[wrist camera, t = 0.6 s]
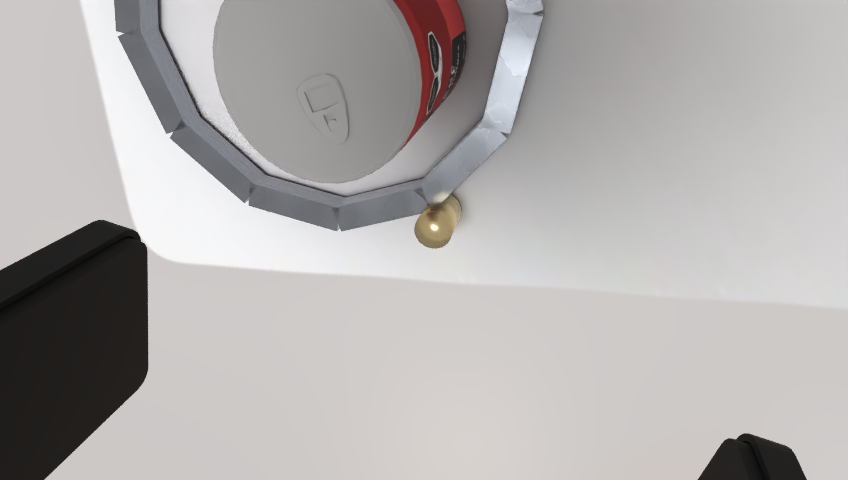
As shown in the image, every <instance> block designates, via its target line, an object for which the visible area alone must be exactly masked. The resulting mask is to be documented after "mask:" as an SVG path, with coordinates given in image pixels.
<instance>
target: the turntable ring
mask: <svg viewBox="0 0 848 480" xmlns="http://www.w3.org/2000/svg"><path fill="white" fill-rule="evenodd" d="M505 1H506V5H507V9H508V13H509V17H508V21H507V25H506V29H505V33H504V37H503V41H502V45H501V49H500V53H499V57H498V61H497V65H496V69H495V73H494V77H493V81H492V85H491V89H490V93H489V97H488V101H487V105H486V109H485V113H484V117H483V118H482V119H481V120H480V121H479V122H478V123H477V124H476V125H475V126H474V127H473V128H472V129H471V130H470V131H469V133H468V134H467V135H466V136H465V137H464V138H463V139H462V140H461V141H460V142H459V143H458V144H457V145H456V146H455V147H454V148H453V149H452V150H451V151H450V152H449V153H448V154H447V155H446V156H445V157H444V158H443V159H442V160H441V161H440V162H439V163H438V164H437V165H436V166H435V167H434V168H433V169H432V170H431V171H430V172H429V173H428V174H427V175H426V176H425V177H424V178H423V179H419V180H414V181H410V182H406V183H402V184H398V185H394V186H390V187H386V188H382V189H378V190H374V191H370V192H366V193H362V194H358V195H353V196H349V197H345V198H344V197H341V196H337V195H334V194H330V193H327V192H323V191H320V190H316V189H313V188H309V187H306V186H302V185H299V184H295V183H292V182H288V181H285V180H281V179H278V178H274V177H271V176H267V175H265V174H264V173H263V172H262V171H261V170H260V169H258V168H257V167H256V166H255V165H254V164H253V163H252V162H251V161H249V160H248V159H247V158H246V157H245V156H244V155H243V154H242V153H240V152H239V151H238V150H237V149H236V148H235V147H234V146H233V145H231V144H230V143H229V142H228V141H227V140H226V139H225V138H223V137H222V136H221V135H220V134H219V133H218V132H217V131H216V130H214V129H213V128H212V127H211V126H210V125H209V124H208V123H207V122H205V121H204V120H203V119H202V118H201V117H200V116H199V114H198V112H197V110H196V107H195V105H194V103H193V101H192V99H191V97H190V95H189V93H188V91H187V88H186V86H185V84H184V82H183V80H182V78H181V76H180V74H179V72H178V69H177V67H176V65H175V63H174V61H173V59H172V57H171V55H170V53H169V50H168V48H167V46H166V44H165V42H164V40H163V38H162V36H161V34H160V31H159V27H158V0H114V5H115V20H116V31H118V32H122V33H125V34H122V35H120V36H118V38H119V40H120V42H121V44H122V46H123V48H124V50H125V52H126V54H127V56H128V58H129V60H130V62H131V64H132V66H133V68H134V70H135V72H136V74H137V76H138V78H139V80H140V82H141V84H142V86H143V88H144V90H145V92H146V94H147V96H148V98H149V100H150V102H151V104H152V106H153V108H154V110H155V112H156V114H157V116H158V118H159V120H160V122H161V124H162V126H163V128H164V130H165V132H166V134H167V133H170V132H173V131H174V132H173V134H172V135H171V137H170V139H172V140H173V141H174V142H175V143H176V144H177V145H178V146H180V147H181V148H182V149H183V150H184V151H185V152H186V153H188V154H189V155H190V156H191V157H192V158H193V159H194V160H196V161H197V162H198V163H199V164H200V165H201V166H202V167H204V168H205V169H206V170H207V171H208V172H209V173H211V174H212V175H213V176H214V177H215V178H216V179H217V180H219V181H220V182H221V183H222V184H223V185H224V186H225V187H227V188H228V189H229V190H230V191H231V192H232V193H233V194H235V195H236V196H237V197H238V198H239V199H240V200H241V201H243V202H244V203H245V202H247V201H248V200H249V206H252V207H256V208H259V209H263V210H266V211H269V212H273V213H276V214H280V215H283V216H287V217H290V218H293V219H297V220H300V221H304V222H307V223H310V224H314V225H317V226H321V227H324V228H328V229H331V230H334V231H337V230H338V229H339V228H340V229H341V231H345V230H350V229H354V228H359V227H363V226H368V225H372V224H377V223H381V222H386V221H390V220H395V219H399V218H404V217H408V216H412V215H417V214H421V215H420V217H419V218H418V220H417V222H416V224H415V228H414V230H415V235H416V237H417V239H418V240H419V242H420V243H421V244H423V245H424V246H426V247H429V248H440V247H443V246H445V245H446V244H447V243H448V242H449V240H450V238H451V236H452V234H453V231H454V229H455V227H456V224H457V222H458V220H459V218H460V215H461V206H460V204H459V202H458V200H457V199H456V198H455V197H453V196H452V195H450V194H451V193H452V192H453V191H454V190H455V189H456V188H457V187H458V186H459V185H460V184H461V183H462V182H463V181H464V180H465V179H466V178H467V177H468V176H469V175H470V174H471V173H472V172H474V171H475V170H476V169H477V168H478V167H479V166H480V165H481V164H482V163H483V162H484V161H485V160H486V159H487V158H488V157H489V156H490V155H491V154H492V153H493V152H494V151H495V150H496V149H497V148H498V147H499V146H500V145H501V144H502V143H504V142H505V141H506V140H507V138H508V135H509V134H510V133H511V130H512V127H513V124H514V120H515V117H516V113H517V110H518V106H519V102H520V99H521V95H522V92H523V88H524V84H525V81H526V77H527V74H528V70H529V67H530V63H531V59H532V56H533V52H534V49H535V45H536V41H537V38H538V34H539V31H540V27H541V24H542V20H543V16H544V14H543V13H538V11H541V10H543V9H544V4H543V0H505Z"/></svg>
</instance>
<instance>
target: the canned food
mask: <svg viewBox="0 0 848 480" xmlns="http://www.w3.org/2000/svg"><path fill="white" fill-rule="evenodd" d="M465 53H466V31H465V26H464V21H463V17H462V13H461V11H460V8H459V6H458V4H457V1H456V0H224V2H223V3H222V5H221V7H220V11H219V14H218V18H217V21H216V25H215V30H214V41H213V58H214V70H215V75H216V79H217V83H218V87H219V91H220V94H221V96H222V99H223V101H224V103H225V106H226V108H227V111H228V113H229V114H230V116H231V118H232V119H233V121H234V123H235V124H236V126H237V128H238V129H239V131H240V132H241V133H242V135H243V136H244V137H245V138H246V139H247V141H248V142H249V143H250V144H251V145H252V147H253V148H254V149H256V150H257V151H258V152H259V153H260V154H261V155H262V156H263V157H265V158H266V159H267V160H268V161H269V162H271V163H273V164H274V165H276V166H277V167H279V168H280V169H282V170H283V171H285V172H287V173H290V174H292V175H295V176H297V177H299V178H302V179H305V180H310V181H314V182H319V183H343V182H348V181H353V180H357V179H360V178H362V177H364V176H366V175H369V174H371V173H373V172H374V171H376V170H378V169H379V168H381V167H382V166H383V165H385V164H386V163H387V162H389V161H390V160H391V159H392V158H394V156H395V155H396V154H397V153H398V152H399V151H400V150H401V149H402V148H403V147H404V146H405V145H406V144H407V143H408V141H409V140H410V139H411V138H412V137H413V136H414V134H415V133H416V132H417V131H418V130H419V129H420V128H421V126H422V125H423V124H424V123H425V122H426V121H427V119H428V118H429V117H430V116H431V115H432V114H433V113H434V111H435V110H436V109H437V108H438V107H439V106H440V104H441V103H442V102H443V101H444V100H445V99H446V97H447V96H448V95H449V94H450V93H451V92H452V90H453V89H454V87H455V85H456V83H457V81H458V79H459V77H460V75H461V71H462V68H463V65H464V62H465Z"/></svg>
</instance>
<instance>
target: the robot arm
mask: <svg viewBox="0 0 848 480" xmlns="http://www.w3.org/2000/svg"><path fill="white" fill-rule="evenodd" d="M147 280H148V272H147V247H146V245H145V244H144V243H142V242H141V239H140V236H139V234H138V233H137V232H136V231H134V230H132V229H129V228H126V227H123V226H120V225H117V224H114V223H111V222H108V221H105V220H97V221H94V222H92V223H90V224H88V225H86V226H84V227H82V228H81V229H78V230H77V231H75V232H73V233H71V234H69V235H67V236H65V237H63V238H61V239H60V240H57V241H55V242H54V243H52V244H50V245H48V246H46V247H44V248H42V249H40V250H38V251H36V252H34V253H32V254H31V255H29V256H27V257H25V258H23V259H21V260H19V261H17V262H15V263H13V264H12V265H10V266H8V267H6V268H4V269H2V270H0V480H44V479H45V478H46V477H47V476H48V475H49V474H50V473H52V472H53V471H54V470H55V469H56V468H57V467H58V466H59V465H60V464H61V463H62V462H63V461H64V460H65V459H66V458H67V457H68V456H69V455H70V454H71V453H72V452H73V451H74V450H75V449H77V448H78V447H79V446H80V444H82V443H83V442H84V441H85V440H86V439H87V438H88V437H89V436H90V435H91V434H92V433H93V432H94V431H95V430H96V429H97V428H98V427H99V426H100V425H101V424H102V423H103V422H105V421H106V419H108V418H109V417H110V416H111V415H112V414H113V413H114V412H115V411H116V410H117V409H118V408H119V407H120V406H121V405H122V404H123V403H124V402H125V401H126V400H127V399H128V398H129V397H131V396H132V395H133V394H134V393H135V392H136V391H137V390H138V389H139V387H140V386H141V385H142V383H143V382H144V380H145V378H146V375H147V372H148V281H147ZM698 480H807V479H806V477H805V475H804V473H803V471H802V469H801V466H800V464H799V462H798V460H797V458H796V456H795V454H794V452H793V451H792V449H790V448H789V447H787V446H785V445H782V444H779V443H776V442H773V441H770V440H766V439H764V438H760V437H758V436H754V435H751V434H742V435H740V436H739V437H738V438H737V439H736V440H735V439H727V440H725V441H724V442H723V443H722V444H721V446H720V447H719V449H718V450H717V452H716V453H715V455H714V456H713V458H712V459H711V461H710V462H709V464H708V465H707V467H706V468H705V470H704V471H703V473H702V474H701V476H700V477H699V479H698Z"/></svg>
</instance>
